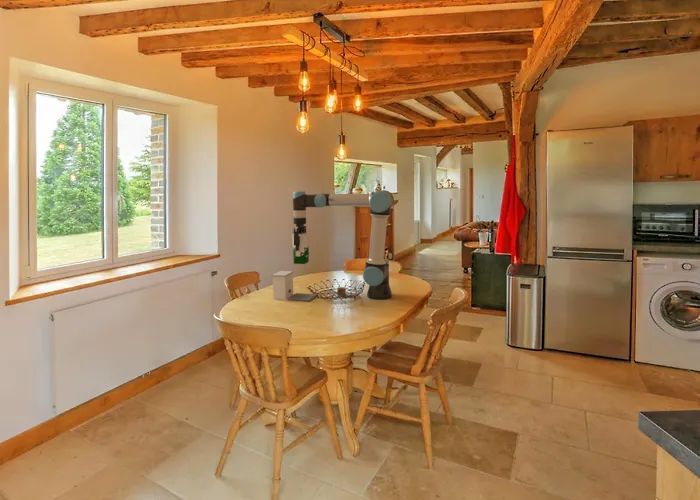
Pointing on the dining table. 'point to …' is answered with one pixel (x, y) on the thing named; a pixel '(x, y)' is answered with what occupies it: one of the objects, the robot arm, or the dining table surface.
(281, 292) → the dispenser unit
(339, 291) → the walnut block
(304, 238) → the soya milk
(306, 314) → the dining table surface
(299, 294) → the pad
